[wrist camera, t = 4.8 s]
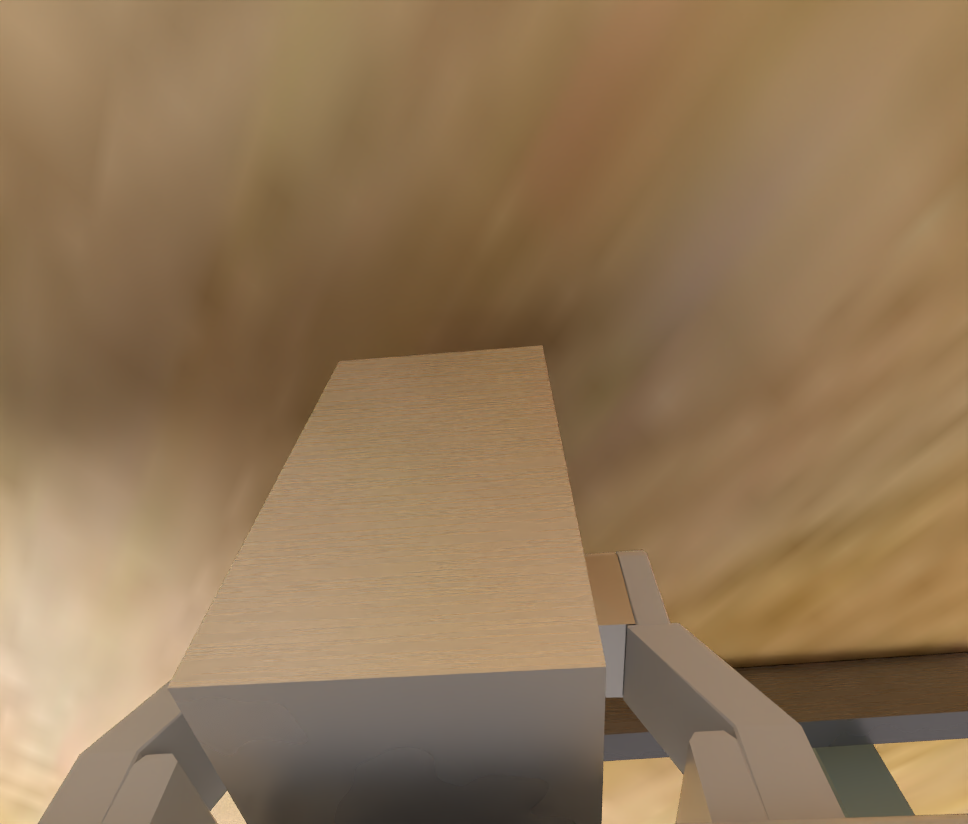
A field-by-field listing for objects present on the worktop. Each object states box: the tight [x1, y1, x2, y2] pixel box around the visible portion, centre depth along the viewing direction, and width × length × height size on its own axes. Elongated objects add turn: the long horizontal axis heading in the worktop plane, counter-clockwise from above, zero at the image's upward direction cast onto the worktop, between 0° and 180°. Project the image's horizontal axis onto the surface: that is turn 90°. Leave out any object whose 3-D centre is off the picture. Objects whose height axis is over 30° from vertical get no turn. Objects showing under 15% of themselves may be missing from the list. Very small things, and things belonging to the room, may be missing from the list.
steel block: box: [167, 345, 606, 824], centre depth 10 cm, size 4×7×7 cm, turn 5°
